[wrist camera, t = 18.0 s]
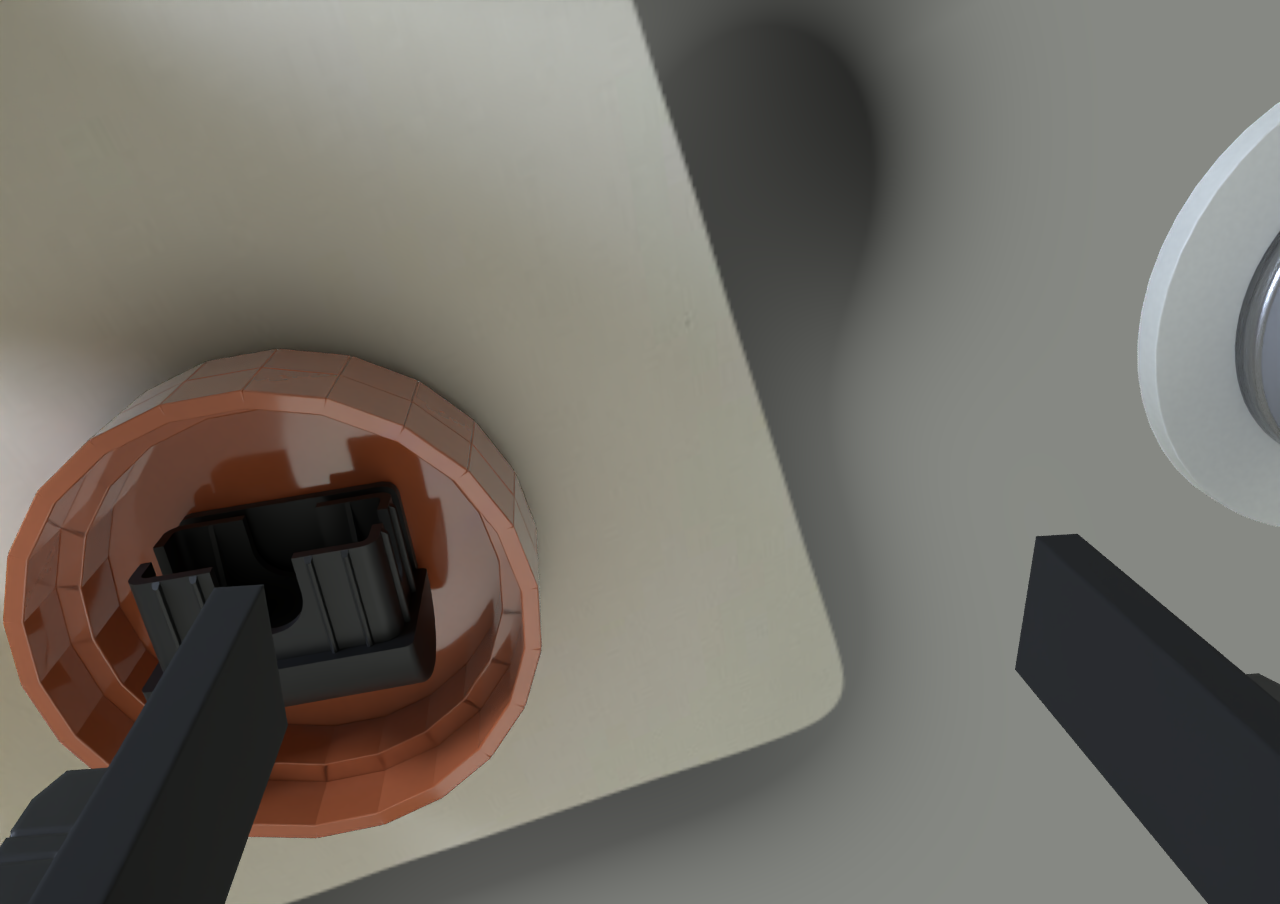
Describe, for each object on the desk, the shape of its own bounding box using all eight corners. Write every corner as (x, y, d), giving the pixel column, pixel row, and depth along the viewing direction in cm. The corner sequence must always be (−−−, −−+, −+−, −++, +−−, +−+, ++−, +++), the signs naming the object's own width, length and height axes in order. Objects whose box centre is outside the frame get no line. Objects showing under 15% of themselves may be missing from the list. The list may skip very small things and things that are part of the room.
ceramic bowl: (526, 334, 40) (527, 378, 34) (547, 729, 47) (551, 817, 41) (24, 353, 38) (-62, 403, 32) (127, 762, 45) (71, 860, 39)
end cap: (217, 659, 43) (166, 760, 36) (167, 516, 40) (101, 599, 34) (443, 619, 43) (430, 712, 37) (408, 476, 41) (387, 550, 34)
